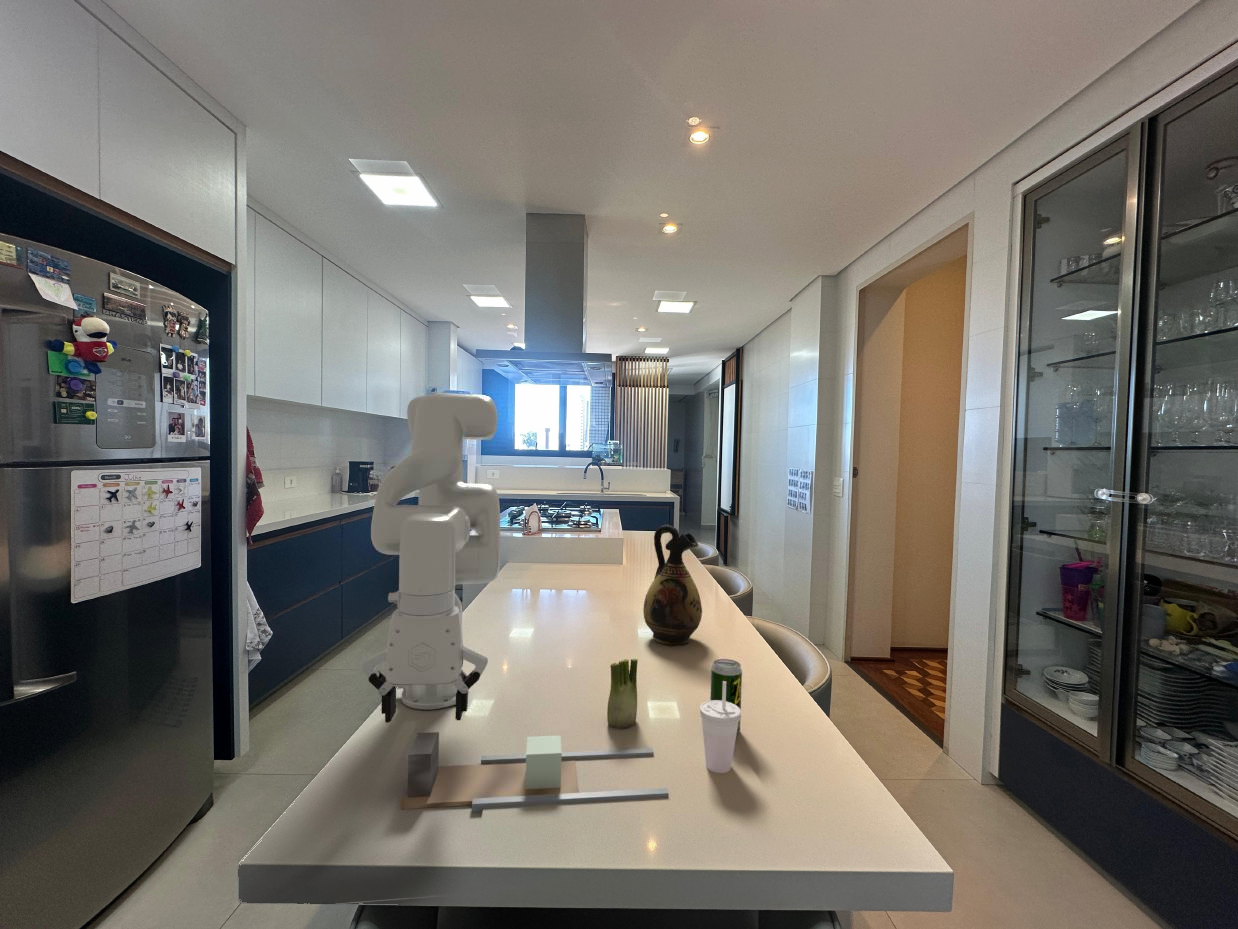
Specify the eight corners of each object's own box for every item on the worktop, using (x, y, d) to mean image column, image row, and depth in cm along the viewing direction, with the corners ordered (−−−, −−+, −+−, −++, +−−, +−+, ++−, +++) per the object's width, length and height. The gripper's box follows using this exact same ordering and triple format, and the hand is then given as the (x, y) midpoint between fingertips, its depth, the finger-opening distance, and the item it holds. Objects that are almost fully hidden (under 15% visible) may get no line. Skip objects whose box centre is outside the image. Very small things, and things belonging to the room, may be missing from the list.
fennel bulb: (635, 719, 103) (637, 654, 103) (640, 732, 99) (642, 664, 98) (604, 721, 102) (605, 655, 102) (608, 734, 98) (610, 666, 97)
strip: (400, 809, 76) (401, 760, 76) (415, 771, 85) (416, 728, 85) (579, 799, 79) (580, 752, 79) (575, 763, 88) (576, 722, 88)
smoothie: (730, 787, 83) (733, 693, 83) (690, 773, 86) (693, 683, 86) (745, 767, 88) (748, 679, 88) (707, 754, 92) (709, 669, 92)
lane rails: (471, 812, 76) (472, 804, 76) (481, 763, 88) (481, 756, 88) (668, 801, 79) (668, 793, 79) (652, 755, 91) (652, 748, 91)
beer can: (707, 735, 98) (709, 667, 98) (711, 721, 103) (713, 656, 103) (738, 740, 97) (740, 671, 96) (741, 726, 102) (743, 660, 102)
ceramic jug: (710, 637, 151) (714, 526, 150) (685, 654, 138) (689, 532, 137) (654, 625, 160) (657, 520, 159) (626, 640, 147) (629, 525, 146)
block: (525, 789, 80) (526, 754, 80) (526, 769, 85) (527, 736, 85) (560, 787, 81) (561, 753, 81) (559, 768, 86) (560, 735, 86)
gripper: (354, 609, 75) (353, 733, 77) (486, 609, 78) (483, 728, 79) (371, 593, 83) (370, 705, 84) (491, 592, 85) (488, 702, 86)
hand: (425, 716), depth 81 cm, fingers open, 9 cm apart
